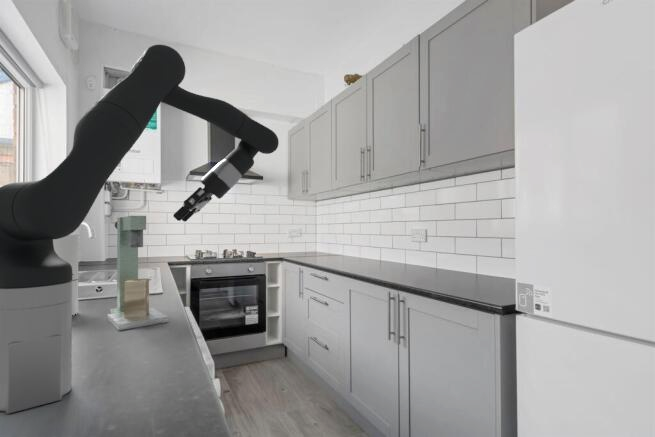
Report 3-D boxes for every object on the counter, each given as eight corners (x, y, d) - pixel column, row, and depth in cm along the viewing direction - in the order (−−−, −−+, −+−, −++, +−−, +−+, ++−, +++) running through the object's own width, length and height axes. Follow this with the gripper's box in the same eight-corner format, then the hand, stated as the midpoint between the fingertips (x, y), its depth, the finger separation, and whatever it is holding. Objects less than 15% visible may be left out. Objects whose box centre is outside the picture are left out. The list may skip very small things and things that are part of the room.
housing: (144, 316, 98) (144, 280, 98) (124, 318, 96) (124, 281, 97) (149, 312, 102) (149, 278, 103) (130, 314, 101) (130, 279, 102)
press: (167, 321, 97) (167, 215, 98) (118, 330, 89) (118, 214, 90) (138, 304, 122) (138, 219, 123) (98, 310, 114) (98, 219, 115)
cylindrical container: (44, 316, 107) (45, 235, 108) (70, 311, 113) (71, 234, 114) (56, 318, 104) (57, 235, 104) (82, 313, 110) (83, 234, 111)
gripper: (214, 173, 106) (173, 211, 103) (209, 164, 92) (162, 207, 89) (232, 190, 107) (193, 228, 104) (230, 184, 93) (184, 228, 90)
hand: (179, 219), depth 96 cm, fingers open, 8 cm apart
